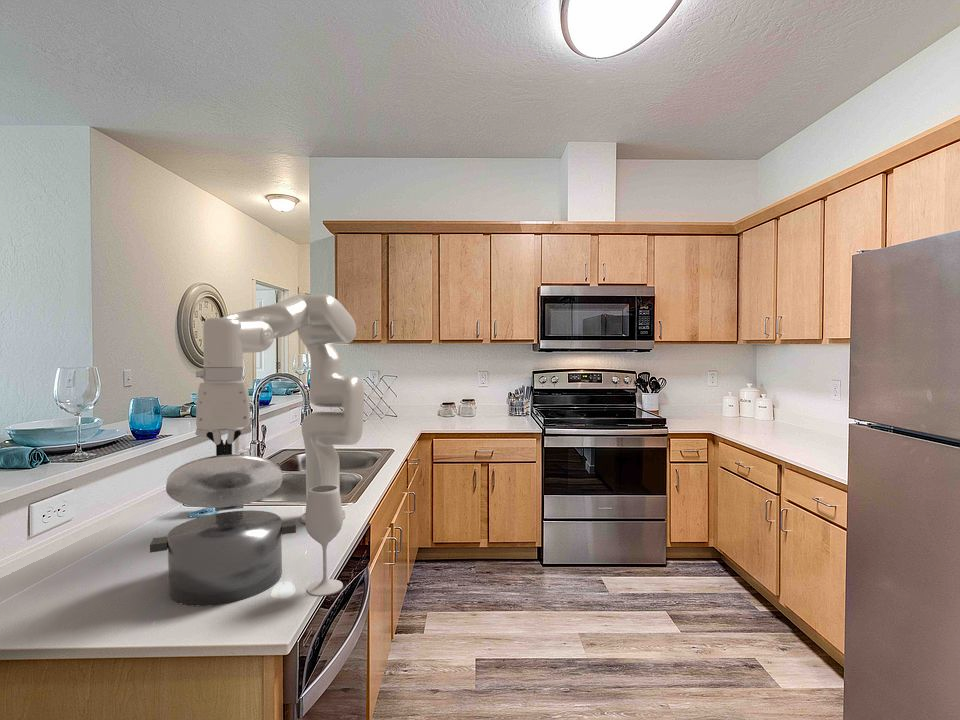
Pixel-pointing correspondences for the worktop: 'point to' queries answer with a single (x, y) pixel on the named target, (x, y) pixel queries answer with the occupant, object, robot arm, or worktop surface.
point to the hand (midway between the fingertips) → (224, 461)
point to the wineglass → (324, 530)
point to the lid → (224, 481)
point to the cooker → (224, 556)
